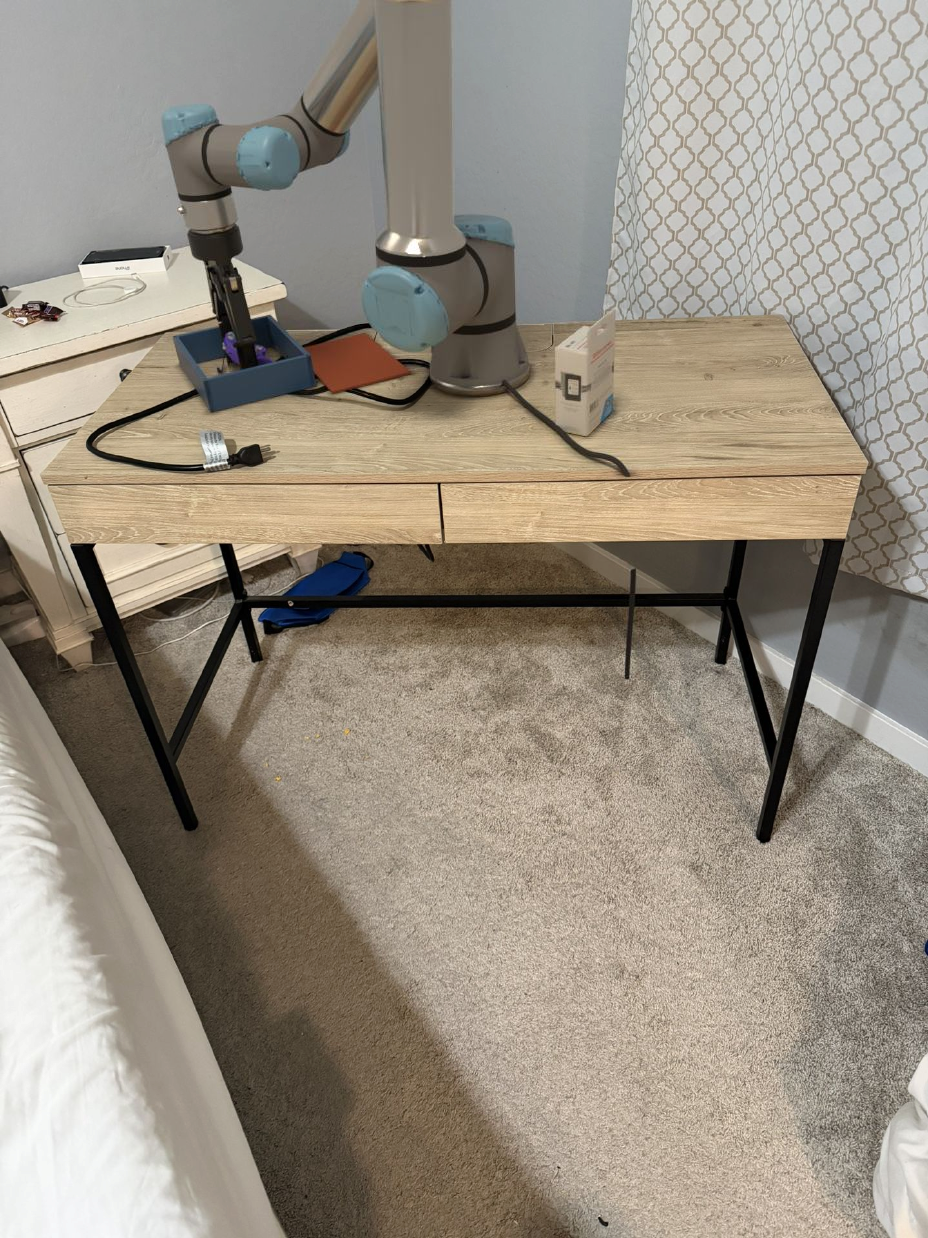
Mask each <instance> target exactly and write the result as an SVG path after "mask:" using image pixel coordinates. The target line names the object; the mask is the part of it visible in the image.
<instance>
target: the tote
mask: <svg viewBox="0 0 928 1238" xmlns="http://www.w3.org/2000/svg"><path fill="white" fill-rule="evenodd" d="M251 321H252V324H253V329H254V332H255V336H256V338H257V343H256V345H261V346H263V347H265V348H269V347H274V349H275V350H276V351H277V352H278V353H279V354H280V352H281V354H280V356H281V357H283V359H281V361H280V360H277V361H273V363H268V364H264V365H260V366H256V367H252V368H247V369H243V370H241V369H240V370H235V371H231V373H230V372H227V373H221V374H218V375H215V376H214V375H213V376H209V377H207V376H206V375H205V373H204V372H203V370H202V369H201V368H200V366H199V364H200V363H204V362H208V361H212V360H218V359H221V358H222V359H223V358H226V355H225V356H224V349H223V342H222V338H221V333H220V329H219V325H217V326H212V327H207V328H204V329H203V328H202V329H198V330H194V331H190V332H185V333H180V334H177V335H171V336H172V341H173V344H174V348H175V351H176V352H175V353H176V355H177V359H178V363H179V366H180V367H181V369H182V370H183V372H184V374H185V375H186V377H187V378H188V380H189V382H190V383H191V385H192V386H193V388H194V389H195V390H196V392H197V394H198V395H199V397H200V398H201V400H202V401H203V403H204V404H205V406H206V407H207V409H208V410H209V412H210V413H215V412H219V411H223V410H227V409H230V408H235V407H239V406H243V405H246V404H251V403H254V402H259V401H262V400H267V399H271V398H275V397H279V396H282V395H286V394H291V393H295V392H299V391H303V390H307V389H311V388H315V387H317V382H316V376H315V375H314V370H313V365H312V359H311V355H310V354H309V353H308V352H307V351H306V350H305V349H304V347H303V346H302V345H301V343H299V342H298V340H297V339H295V338H294V336H292V335H291V334H290V333H289V332H288V330H286V328H284V326H282V325H281V324H280V322H279V321H277V320H276V318H275V317H273V316H272V314H267V315H262V316H258V317H257V316H256V317H252V318H251ZM254 325H256V326H254ZM257 326H258V327H257ZM259 327H260V328H259ZM261 328H262V329H261ZM264 330H265V331H266V332H265V331H264ZM267 332H268V333H269V334H270V335H271V336H272V337H273V338H274V339H273V338H272V337H271V336H270V335H269V334H268V333H267ZM275 341H276V342H275ZM277 344H278V345H277ZM278 346H279V347H278ZM279 349H280V350H279ZM287 356H288V357H287Z"/></svg>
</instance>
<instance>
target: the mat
mask: <svg viewBox="0 0 928 1238" xmlns="http://www.w3.org/2000/svg"><path fill="white" fill-rule="evenodd" d="M303 348H304V349H305V350H306V351H307V352H308V353H309V354H310V355H311V359H312V365H313V370H314V376H315V378H317V379H318V380H319V381H320V382H321V383H322V384H323V385H324V387H326V389H327V390H328V391H330V393H331V394H333V395H334V394H338V393H342V392H345V391H350V390H353V389H359V388H361V387H365V386H369V385H373V384H377V383H381V382H386V381H389V380H393V379H397V378H400V377H403V376H409V375H411V374H412V371H410V369H408V368H407V367H405V365H403V363H401V362H400V361H399V360H397V359H396V358H395V357H394V356H393V355H392V354H390V353H389V352H388V351H387V350H386V349H384V348H383V347H382V346H381V345H380V344H378V342H376V341H375V340H374V339H372V338H371V337H370V336H369V335H368V334H367V333H365V332H363V333H360V334H356V335H350V336H347V337H342V338H338V339H334V340H330V341H325V342H321V343H317V344H312V345H308V346H304V347H303Z"/></svg>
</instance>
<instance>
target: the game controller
mask: <svg viewBox="0 0 928 1238" xmlns="http://www.w3.org/2000/svg"><path fill="white" fill-rule="evenodd" d="M252 325H253V324H252ZM254 326H256V325H254ZM257 327H258V326H257ZM259 328H260V327H259ZM261 329H262V328H261ZM232 330H233V329H232ZM232 330H231V331H232ZM231 331H230V332H229V333H226V335H225V338H224V343H223V349H226V353H227V355H229V356H230V358H231V359H232V361H233V362H235V364H237V365H239V366H240V364H239V360H238V355H237V351H236V348H233V346H232V344H233V343H236V339H235V336H234V333H233V332H231ZM264 331H265V330H264ZM265 332H266V331H265ZM267 333H268V332H267ZM268 334H269V333H268ZM269 335H270V334H269ZM270 336H271V335H270ZM244 337H247V336H244ZM271 337H272V336H271ZM272 338H273V337H272ZM273 339H274V338H273ZM275 342H276V341H275ZM277 345H278V344H277ZM254 346H255V351H256V356H257V360H258V365H259V366H260V365H264V364H268V363H273V362H274V360H273V359H272V358H270V357H268V356H266V354H267V349H266V347H263V346H261V345H256V343H255V344H254ZM278 347H279V346H278ZM279 350H280V349H279ZM279 354H280V355H281V352H280V353H279ZM224 356H225V351H224ZM281 360H282V358H280V360H279V361H281ZM227 362H228V359H226V363H227ZM224 363H225V357H222V367H221V368H220V367H217V368H216V370H217V373H218V374H223V370H224ZM227 366H228V370H229V373H231V372H232V371H231V369H230V364H228V363H227Z"/></svg>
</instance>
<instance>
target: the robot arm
mask: <svg viewBox="0 0 928 1238" xmlns="http://www.w3.org/2000/svg"><path fill="white" fill-rule="evenodd" d="M453 7H454V6H453V0H358V2H357V3H356V5H355V7H354V8H353V10H352V12H351V13H350V15H349V17H348V18H347V20H346V21H345V23H344V25H343V27H342V28H341V30H340V32H339V33H338V35H337V36H336V38H335V39H334V41H333V43H332V44H331V46H330V48H329V50H328V51H327V53H326V55H325V56H324V58H323V59H322V61H321V62H320V65H319V66H318V68H317V70H316V71H315V73H314V74H313V76H312V78H311V79H310V81H309V82H308V84H307V86H306V87H305V89H304V91H303V93H302V94H301V96H300V98H299V99H298V101H296V104H295V105H294V107H293V108H292V110H290V111H288V112H286V113H282V114H279V115H275V116H273V117H270V118H267V119H263V120H260V121H257V122H252V123H250V124H243V125H242V124H241V125H240V124H223V123H220V119H219V118H218V116H217V112H216V109H215V108H214V106H212V105H211V104H207V103H190V104H181V105H177V106H172V107H169V108H167V109H166V110H164V111H163V112H162V113H161V119H160V120H161V121H160V122H161V127H162V132H163V138H164V139H163V140H164V147H165V148H166V152H167V155H168V159H169V163H170V168H171V172H172V176H173V179H174V185H175V189H176V192H177V197H178V200H179V203H180V204H181V205H180V206H178V207H177V208H176V210H177V213H178V214H179V215H182V216H183V221H184V226H185V227H186V228H187V229H188V231H187V234H186V236H187V240H188V245H189V248H190V252H191V253H190V254H191V255H192V257H193V258H194V259H195V260H198V261H202V262H203V265H204V269H205V275H206V280H207V285H208V290H209V296H210V302H211V303H210V304H211V308H212V310H211V311H212V314H213V315H215V320H216V321H217V322H218V323H217V324H218V325H217V326H219V329H220V333H221V338H222V342H223V343H224V338H225V335H226V333H229V332H230V331H231V330H232V329H233V330H232V331H231V332H233V333H234V336H235V339H236V343H233V344H232V346H233V348H236V351H237V355H238V360H239V364H240V365H239V364H238V365H239V368H240V370H243V369H247V368H252V367H256V366H259V365H258V360H257V356H256V351H255V346H254V344H255V343H257V338H256V336H255V332H254V329H253V325H252V321H251V319H252V318H251V317H252V316H251V313H250V309H249V305H248V303H247V297H246V295H245V291H244V285H243V277H242V276H241V274H240V273H239V271H238V268H237V267H236V266H235V267H234V265H233V262H232V259H233V258H234V257H237V256H239V255H240V254H242V252H243V251H244V245H243V239H242V235H241V230H240V227H239V225H237V224H236V223H237V222H238V220H239V218H238V213H237V208H236V203H235V198H234V193H233V190H232V187H236V188H245V189H253V190H258V191H260V190H261V191H263V192H269V191H273V190H275V191H281V190H286V189H288V188H289V187H291V186H292V185H293V183H294V180H295V179H297V177H298V175H299V174H300V173H302V172H305V171H308V170H311V169H313V168H317V167H320V166H324V165H328V164H330V163H332V162H334V161H335V160H336V159H338V158H339V157H341V156H342V155H344V154H345V152H346V151H347V150H348V148H349V145H350V138H351V127H352V125H353V124H354V123H355V121H356V120H357V118H358V116H359V115H360V114H361V112H363V109H364V108H365V106H366V105H367V103H368V102H369V101H370V99H372V97H373V95H374V93H375V92H376V91H377V89H378V94H379V114H380V115H379V116H380V132H381V133H380V134H381V152H382V169H383V171H382V172H383V187H384V188H383V190H384V206H385V207H384V209H385V226H384V227H383V228H382V229H381V231H380V232H379V233H378V234H377V235H376V236H375V238H374V239H375V241H374V243H375V245H374V246H375V264H376V268H374V269H372V271H370V273H369V274H368V276H367V278H366V279H365V280H364V282H363V285H362V289H361V305H362V309H363V313H364V316H365V318H366V320H367V322H368V324H369V325H370V327H371V328H372V330H373V331H374V332H376V333H378V335H379V337H380V338H381V339H382V340H383V341H384V342H385V343H386V344H388V345H390V347H392V348H395V349H396V350H399V351H402V352H407V353H419V352H424V351H426V350H428V349H430V351H431V352H430V353H431V358H430V362H429V369H428V370H429V371H428V372H429V379H430V383H431V385H432V386H433V387H434V388H436V389H437V390H439V391H442V392H444V393H447V394H450V395H456V396H461V397H462V396H463V397H483V396H490V395H491V396H493V395H497V394H502V393H505V392H508V391H509V392H510V393H511V394H512V395H513V396H514V397H515V398H516V399H517V400H518V401H519V403H521V405H523V406H524V407H525V408H526V409H528V410H529V411H530V412H531V413H532V414H533V415H535V416H536V417H538V418H539V419H540V420H541V421H543V422H544V423H546V424H547V425H548V426H549V427H551V428H552V429H554V431H556V432H557V433H558V435H560V437H562V439H564V441H565V442H566V443H568V445H570V446H571V447H572V448H573V449H575V450H576V451H578V452H579V453H580V454H582V455H584V456H586V457H590V458H594V459H600V460H604V461H608V462H610V463H612V464H614V465H615V466H617V468H618V469H619V470H620V471H621V473H622V474H623V476H624V477H626V478H631V474H630V472H629V469H628V468H627V466H626V465H625V464H624V463H623V462H622V461H621V460H620V459H618V458H617V457H615V456H613V455H611V454H608V453H604V452H598V451H592V450H589V449H587V448H585V447H583V446H582V445H580V444H579V443H578V442H577V441H575V440H574V439H573V438H572V437H571V436H570V435H569V434H568V433H567V432H564V431H563V430H562V429H561V428H560V427H559V426H558V425H556V423H555V422H554V421H553V420H552V419H551V418H549V417H548V416H546V415H545V414H544V413H543V412H541V411H540V410H538V409H537V408H536V407H534V405H532V404H530V403H529V402H528V401H527V400H526V399H525V398H524V397H523V396H522V395H521V394H520V393H519V391H517V389H516V388H518V387H519V386H521V385H523V384H524V383H525V382H527V380H528V379H529V377H530V371H531V370H530V360H529V356H528V353H527V350H526V348H525V345H524V341H523V339H522V336H521V334H520V331H519V327H518V325H517V311H516V309H517V307H516V305H517V304H516V272H515V271H516V270H515V269H516V268H515V249H516V245H515V243H514V234H513V227H512V224H511V223H510V222H509V220H507V219H505V218H503V217H501V216H497V215H488V214H472V213H471V214H468V213H467V214H455V166H454V165H455V163H454V161H455V160H454V159H455V158H454V156H455V152H454V151H455V150H454V149H455V148H454V137H455V136H454V33H453V32H454V23H453V21H454V20H453V18H454V17H453V14H454V13H453V11H454V10H453ZM244 336H247V337H244ZM224 351H225V355H226V357H225V360H227V359H228V362H227V361H226V363H227V365H228V364H229V365H231V364H234V363H235V362H233V361H232V359H231V358H230V356H229V355H227V353H226V349H224ZM235 364H236V363H235ZM636 583H637V568H635V567H634V568H632V569H630V580H629V601H628V614H627V625H626V626H627V629H626V640H625V656H624V657H625V658H624V680H630V675H631V657H632V654H631V653H632V641H633V640H632V639H633V631H634V630H633V628H634V615H635V605H636V603H635V602H636V589H637V588H636V585H637V584H636Z"/></svg>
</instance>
